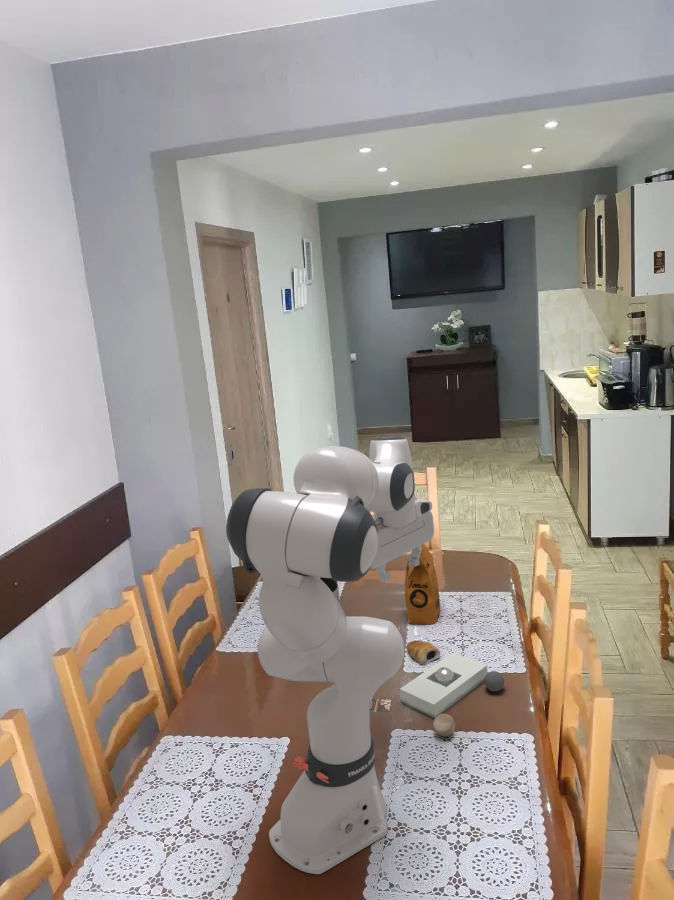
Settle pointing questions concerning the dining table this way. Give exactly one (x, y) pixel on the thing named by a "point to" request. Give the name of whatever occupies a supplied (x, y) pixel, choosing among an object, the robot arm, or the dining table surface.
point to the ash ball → (444, 724)
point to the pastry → (423, 651)
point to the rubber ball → (494, 681)
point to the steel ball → (444, 676)
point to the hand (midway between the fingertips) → (400, 573)
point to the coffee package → (422, 590)
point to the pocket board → (437, 697)
